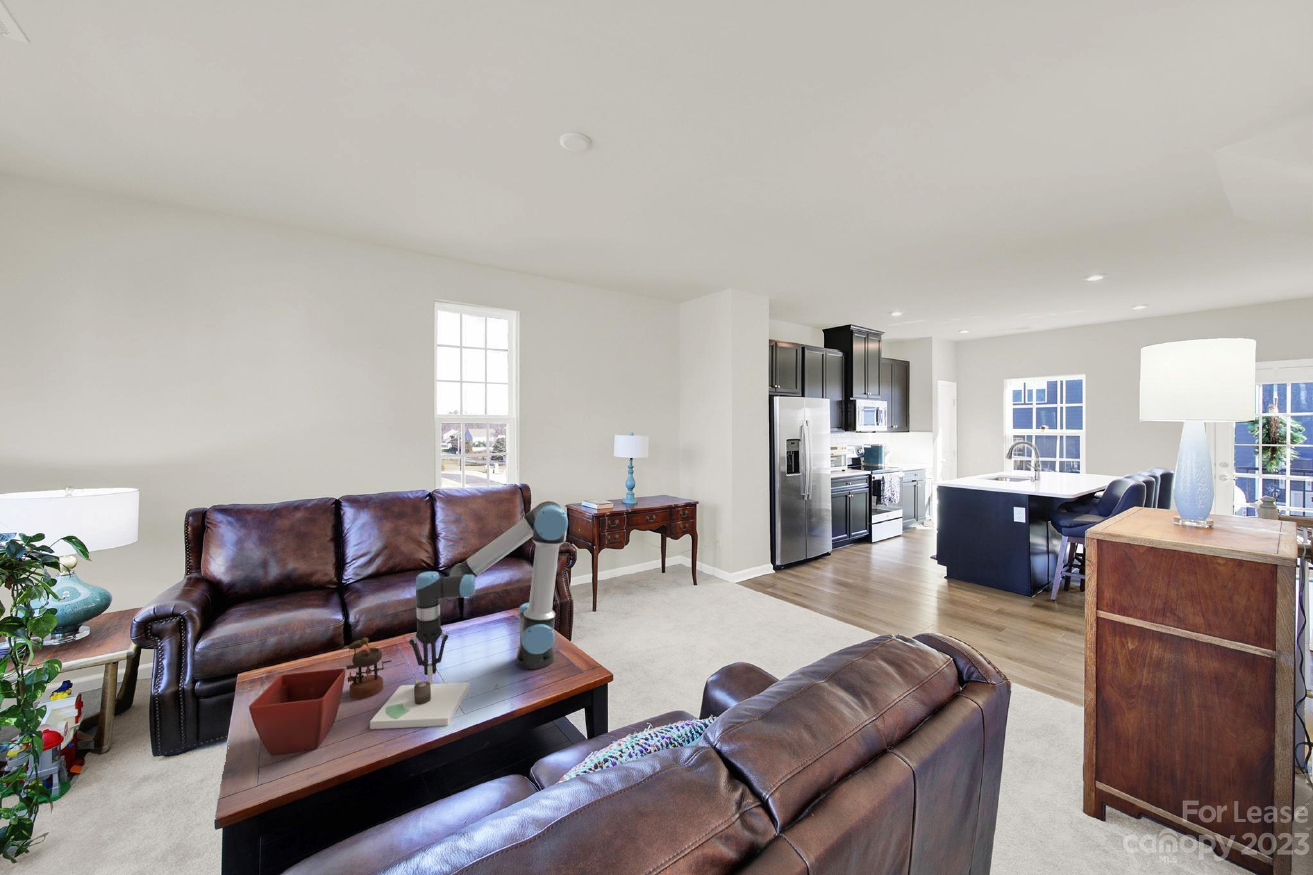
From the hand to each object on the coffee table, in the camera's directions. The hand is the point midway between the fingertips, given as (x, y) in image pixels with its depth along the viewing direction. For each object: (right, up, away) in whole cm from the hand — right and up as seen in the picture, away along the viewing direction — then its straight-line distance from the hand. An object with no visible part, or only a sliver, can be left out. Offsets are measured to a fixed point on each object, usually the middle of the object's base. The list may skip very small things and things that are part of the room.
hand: (430, 682), depth 183 cm
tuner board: (+1, -4, -9) cm, 10 cm away
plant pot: (-28, -6, -25) cm, 38 cm away
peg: (-1, -2, -5) cm, 6 cm away
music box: (-23, -5, +3) cm, 24 cm away
